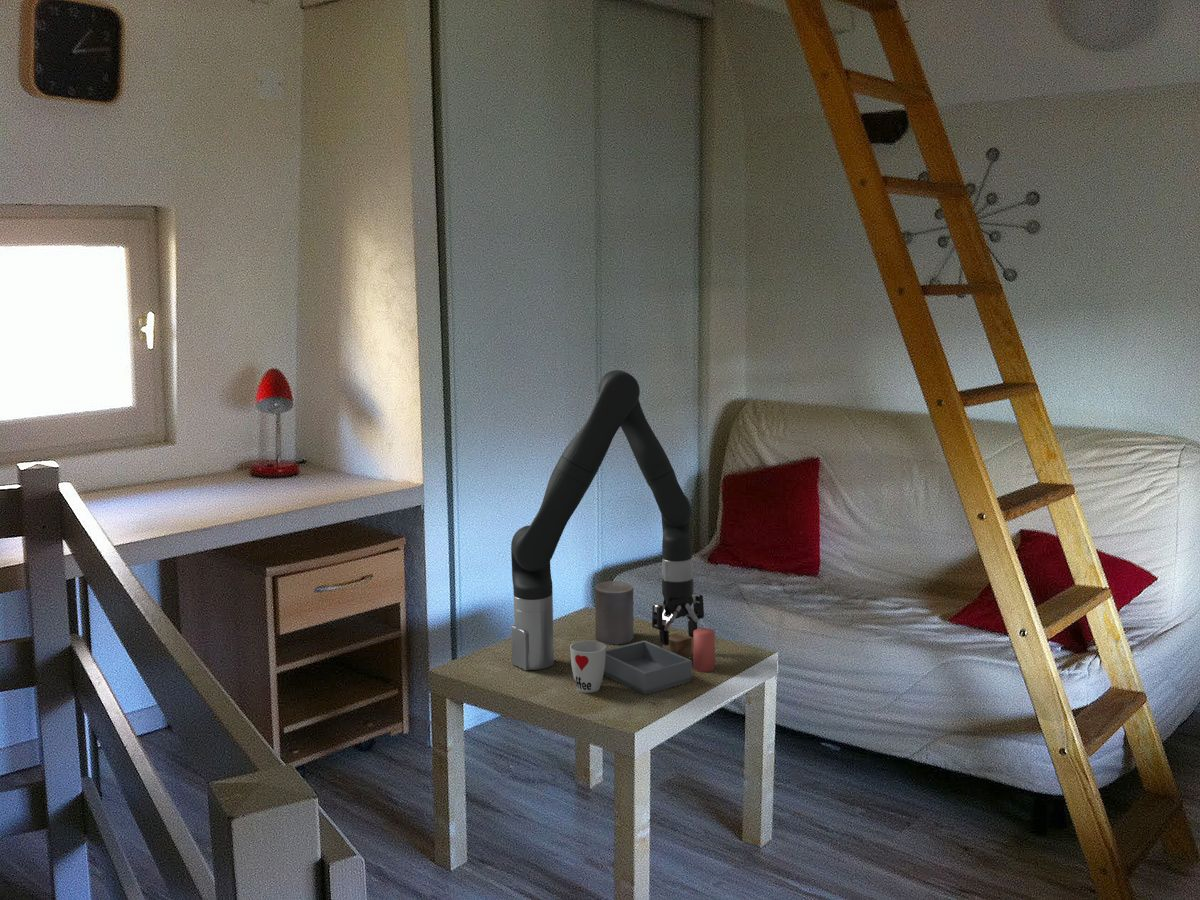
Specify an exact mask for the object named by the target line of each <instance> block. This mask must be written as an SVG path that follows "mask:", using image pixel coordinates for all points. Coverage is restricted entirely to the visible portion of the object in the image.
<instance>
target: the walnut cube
mask: <svg viewBox="0 0 1200 900" xmlns="http://www.w3.org/2000/svg"><path fill="white" fill-rule="evenodd" d="M692 639H693V637H690V636H689V635H685V634H683V633H680V632H676V633H672V634H669V645H666V646H665V645H663V644H662V648H664V649H666V650H668V651H671V652H673V653H675V654H678V655H680V656H682V657H685V658H688V659H690V658H689V657H693V655H692V654H693V651H692V649H693V646H692V645H693V642H692V641H693V640H692Z"/></svg>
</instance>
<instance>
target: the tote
mask: <svg viewBox="0 0 1200 900" xmlns="http://www.w3.org/2000/svg"><path fill="white" fill-rule="evenodd" d="M603 676H605V677H607V678H609V679H612V680H613V681H615V682H617V683H619V684H621V685H623V686H626V687H627V688H629V689H632V690H634V691H636V692H638V693H640V694H642V695H644V696H646V695H649V694H653V692H654V693H656V691H657V692H660V691H663V690H668V689H670V687H671V688H674V687H678V686H680V684H681V685H684V683H685V684H688V683H691V681H692V682H693V660H692V659H690V658H688V659H687V658H685V657H682V656H680V655H678V654H675V653H673V652H671V651H668V650H666V649H664V648H663V646H659V645H657V644H654V643H652V642H650V641H647V640H640V641H637V642H633V643H627V644H625V645H622V646H617V647H614V648H610V649H606V657H605V668H604V674H603ZM687 682H688V683H687ZM677 685H678V686H677ZM673 686H674V687H673Z"/></svg>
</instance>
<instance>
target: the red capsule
mask: <svg viewBox="0 0 1200 900" xmlns="http://www.w3.org/2000/svg"><path fill="white" fill-rule="evenodd" d="M692 639H693V640H692V641H693V642H692V645H693V646H692V649H693V651H692V654H693V655H692V657H693V660H692V669H693V668H694V669H695V670H694V669H693V670H694V671H696V670H697V671H696V672H699V671H701V672H700V673H710V672H712V670H713V671H714V670H715V666H716V665H715V661H716V660H715V659H716V658H715V655H716V652H715V651H716V646H715V645H716V641H715V640H716V632H715V630H714V629H712V628H707V627H706V628H704V627H703V628H702V627H701V628H697V629H696V630H694V631H693V637H692ZM709 671H710V672H709Z"/></svg>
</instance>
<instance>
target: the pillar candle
mask: <svg viewBox="0 0 1200 900" xmlns="http://www.w3.org/2000/svg"><path fill="white" fill-rule="evenodd" d="M594 593H595V616H594V617H595V618H594V619H595V641H598V642H602V643H604V644H605V645H622V644H623V645H624V644H629V643H630V642H631V641H632V640H633V639H634V584H631V583H629V582H625V581H622V580H621V581H619V580H608V581H602V582H600V583H598V584H596V585H595V592H594Z"/></svg>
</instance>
